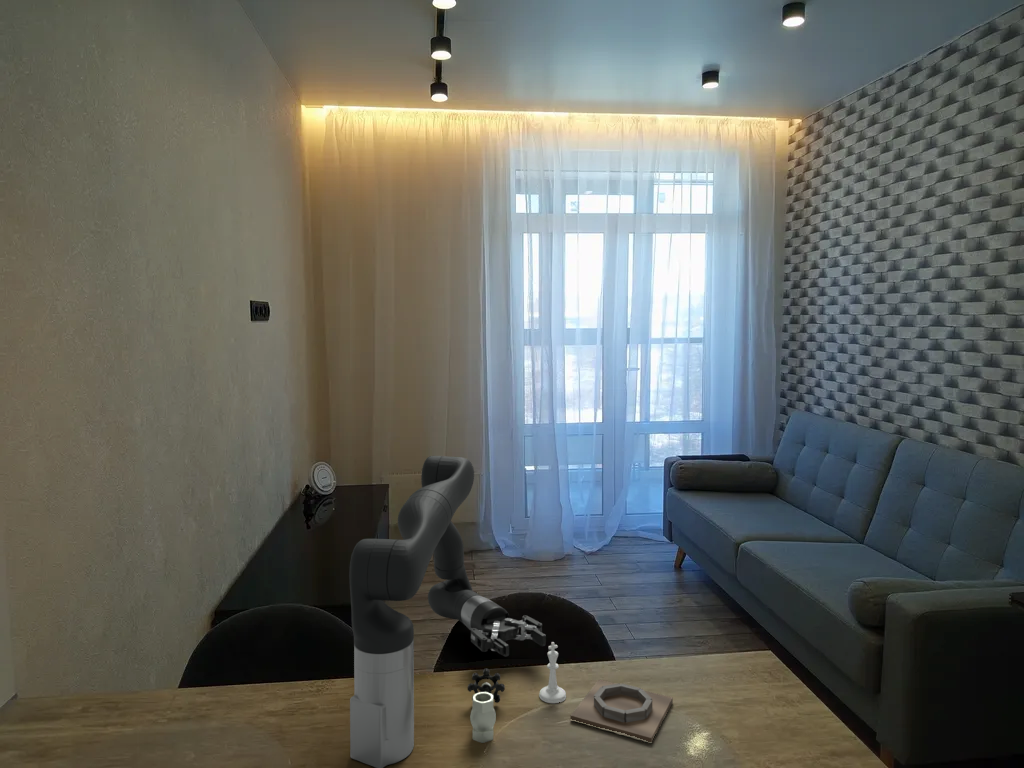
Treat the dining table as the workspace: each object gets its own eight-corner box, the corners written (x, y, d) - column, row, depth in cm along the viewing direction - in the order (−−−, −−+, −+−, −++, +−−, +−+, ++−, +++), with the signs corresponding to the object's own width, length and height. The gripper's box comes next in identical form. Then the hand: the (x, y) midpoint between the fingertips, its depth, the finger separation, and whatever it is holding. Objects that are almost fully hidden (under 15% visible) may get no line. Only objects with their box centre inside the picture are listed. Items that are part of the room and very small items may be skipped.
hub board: (651, 744, 102) (651, 728, 102) (570, 721, 109) (570, 706, 109) (672, 703, 114) (672, 689, 114) (598, 684, 121) (598, 671, 121)
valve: (502, 744, 102) (504, 704, 114) (502, 704, 102) (504, 668, 114) (461, 744, 102) (468, 704, 114) (461, 703, 102) (467, 667, 114)
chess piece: (534, 692, 118) (534, 639, 118) (557, 687, 120) (558, 634, 120) (547, 705, 113) (547, 650, 113) (571, 699, 116) (571, 645, 115)
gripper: (455, 607, 134) (494, 635, 120) (512, 594, 141) (556, 619, 127) (455, 642, 134) (494, 674, 120) (512, 628, 141) (555, 656, 128)
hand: (526, 646), depth 124 cm, fingers open, 8 cm apart
